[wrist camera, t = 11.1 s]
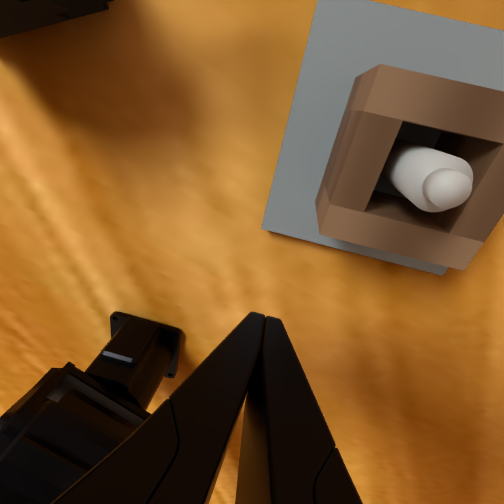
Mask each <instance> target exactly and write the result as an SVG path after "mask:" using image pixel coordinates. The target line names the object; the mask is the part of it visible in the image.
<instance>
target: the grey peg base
mask: <svg viewBox="0 0 504 504" xmlns="http://www.w3.org/2000/svg"><path fill="white" fill-rule="evenodd" d="M379 64H384V65H388V66H393V67H397V68H401V69H406V70H410V71H415V72H419V73H424V74H428V75H433V76H437V77H442V78H446V79H451V80H455V81H460V82H464V83H469V84H473V85H478V86H482V87H486V88H491V89H495V90H500V91H504V31H503V30H499V29H494V28H490V27H485V26H481V25H476V24H472V23H467V22H463V21H458V20H454V19H449V18H445V17H440V16H436V15H432V14H427V13H423V12H418V11H414V10H409V9H405V8H400V7H396V6H391V5H387V4H382V3H378V2H373V1H369V0H318V2H317V6H316V10H315V14H314V18H313V22H312V26H311V30H310V34H309V38H308V42H307V46H306V50H305V54H304V58H303V62H302V66H301V70H300V74H299V78H298V82H297V86H296V90H295V94H294V98H293V102H292V106H291V110H290V115H289V119H288V123H287V127H286V131H285V135H284V139H283V143H282V147H281V151H280V155H279V159H278V163H277V167H276V171H275V175H274V179H273V183H272V187H271V191H270V195H269V199H268V203H267V207H266V211H265V215H264V219H263V223H262V227H261V229H264V230H268V231H272V232H276V233H280V234H284V235H287V236H291V237H295V238H299V239H303V240H307V241H311V242H314V243H318V244H322V245H326V246H330V247H334V248H337V249H341V250H345V251H349V252H353V253H357V254H360V255H364V256H368V257H372V258H376V259H380V260H383V261H387V262H391V263H395V264H399V265H403V266H406V267H410V268H414V269H418V270H422V271H426V272H429V273H433V274H437V275H441V276H443V275H444V274H445V272H446V271H447V269H448V268H449V267H446V266H442V265H438V264H434V263H430V262H426V261H422V260H418V259H415V258H411V257H407V256H403V255H399V254H395V253H391V252H387V251H383V250H379V249H375V248H371V247H367V246H363V245H359V244H355V243H351V242H347V241H343V240H339V239H335V238H331V237H327V236H323V235H320V234H319V228H318V221H317V213H316V206H315V199H316V196H317V193H318V190H319V187H320V184H321V181H322V178H323V175H324V172H325V169H326V166H327V163H328V160H329V157H330V153H331V150H332V147H333V144H334V141H335V138H336V135H337V132H338V129H339V126H340V123H341V120H342V117H343V114H344V111H345V108H346V105H347V101H348V98H349V95H350V92H351V89H352V86H353V83H354V80H355V77H357V76H359V75H361V74H362V73H364V72H366V71H368V70H370V69H372V68H373V67H375V66H377V65H379ZM441 133H442V132H439V131H435V130H430V129H426V128H422V127H417V126H413V125H409V124H404V123H402V124H401V127H400V129H399V131H398V134H397V136H396V138H395V141H394V143H393V145H392V148H391V150H390V152H389V155H388V157H387V159H386V162H385V164H384V166H383V169H382V171H381V174H380V176H379V178H378V181H377V183H376V185H375V188H374V190H375V191H379V192H383V193H387V194H391V195H395V196H399V197H403V198H408V199H409V200H410V201H411V202H412V203H413V204H414V205H416V206H417V207H418V208H420V209H421V210H424V211H427V212H441V211H445V210H448V209H450V208H454V207H457V206H459V205H460V204H462V203H463V202H464V201H466V200H467V198H468V197H469V195H470V194H471V191H472V183H473V172H472V169H471V167H470V165H469V164H468V163H467V162H466V161H465V160H463V159H461V158H459V157H456V156H453V155H450V154H447V153H444V152H441V151H437V150H434V147H435V145H436V143H437V141H438V139H439V137H440V135H441Z"/></svg>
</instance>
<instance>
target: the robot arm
mask: <svg viewBox="0 0 504 504" xmlns="http://www.w3.org/2000/svg"><path fill="white" fill-rule="evenodd" d="M110 325H111V340H110V341H109V342H108V343H107V344H106V346H105V347H104V348H103V349H102V351H101V352H100V354H99V355H98V356H97V357H96V358H95V360H94V361H93V362H92V363H91V365H90V366H89V367H88V368H87V369H86V371H85V372H83V371H81V370H79V369H78V368H76V367H75V365H74V364H73V363H71V362H68V363H67V364H66V365H65V366H64V367H63V368H51V369H50V370H49V371H48V372H47V373H46V374H45V375H44V377H43V378H42V379H41V380H40V381H39V382H38V383H37V384H36V385H35V386H34V387H33V388H32V389H31V390H30V391H28V392H27V393H26V394H25V395H24V396H23V397H22V398H21V399H20V400H18V401H17V402H16V403H15V404H14V405H13V406H12V407H11V408H10V409H8V410H7V411H6V412H5V413H4V414H3V415H2V416H1V417H0V504H209V501H210V498H211V495H212V493H213V490H214V487H215V484H216V481H217V478H218V475H219V472H220V470H221V467H222V464H223V461H224V458H225V455H226V452H227V449H228V447H229V444H230V441H231V438H232V435H233V432H234V429H235V426H236V423H237V421H238V418H239V415H240V412H241V409H242V406H243V403H244V400H245V397H246V401H245V409H244V419H243V430H242V440H241V450H240V460H239V470H238V480H237V490H236V500H235V504H363V503H362V501H361V499H360V496H359V494H358V492H357V490H356V488H355V486H354V484H353V481H352V479H351V477H350V475H349V473H348V471H347V468H346V466H345V464H344V462H343V459H342V457H341V455H340V452H339V450H338V448H335V446H336V444H335V441H334V439H333V437H332V435H331V432H330V430H329V428H328V425H327V423H326V421H325V419H324V416H323V414H322V412H321V409H320V407H319V405H318V403H317V400H316V398H315V396H314V394H313V391H312V389H311V387H310V384H309V382H308V380H307V378H306V375H305V373H304V371H303V368H302V366H301V364H300V362H299V359H298V357H297V355H296V353H295V350H294V348H293V346H292V343H291V341H290V339H289V337H288V334H287V332H286V330H285V328H284V325H283V323H282V321H281V320H280V319H279V318H275V317H271V316H266V317H265V315H264V314H260V313H257V312H250V313H249V314H248V315H247V316H246V317H245V318H244V319H243V320H242V321H241V322H240V323H239V324H238V325H237V326H236V327H235V328H234V329H233V330H232V332H231V333H230V334H229V335H228V336H227V337H226V338H225V339H224V340H223V341H222V342H221V343H220V344H219V345H218V346H217V347H216V348H215V349H214V350H213V351H212V352H211V353H210V354H209V356H208V357H207V358H206V359H205V360H204V361H203V362H202V363H201V364H200V365H199V366H198V367H197V368H196V369H195V370H194V371H193V372H192V373H191V374H190V375H189V376H188V377H187V378H186V379H185V381H184V382H183V383H182V384H181V385H180V386H179V387H178V388H177V389H176V390H175V391H174V392H173V393H172V394H171V395H170V396H169V399H166V400H165V401H164V402H163V403H162V404H161V405H160V406H159V407H158V408H157V409H156V410H155V412H154V413H153V414H150V413H149V412H147V411H146V410H147V408H148V406H149V404H150V402H151V400H152V398H153V396H154V394H155V392H156V390H157V388H158V386H159V384H160V382H161V380H162V378H163V377H164V376H165V377H168V378H174V377H175V375H176V373H177V364H178V356H179V347H180V339H181V331H180V330H179V329H178V328H175V327H171V326H168V325H164V324H160V323H157V322H153V321H150V320H146V319H142V318H139V317H135V316H132V315H128V314H124V313H121V312H117V311H115V312H113V313H112V315H111V316H110ZM246 394H247V395H246Z"/></svg>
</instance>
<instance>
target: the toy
mask: <svg viewBox="0 0 504 504" xmlns="http://www.w3.org/2000/svg"><path fill="white" fill-rule="evenodd" d="M110 1H114V0H0V38H3V37H7V36H10V35H14V34H18V33H21V32H25V31H29V30H33V29H36V28H40V27H44V26H48V25H51V24H55V23H59V22H63V21H66V20H70V19H74V18H77V17H81V16H85V15H89V14H92V13H96V12H100V11H104V10H107V9H109V8H108V4H107V2H110Z"/></svg>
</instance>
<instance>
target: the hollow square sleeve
mask: <svg viewBox="0 0 504 504" xmlns="http://www.w3.org/2000/svg"><path fill="white" fill-rule="evenodd" d="M402 123H404V124H409V125H413V126H417V127H422V128H426V129H430V130H435V131H439V132H442V133H441V135H440V137H439V139H438V141H437V143H436V145H435V147H434V150H437V151H441V152H444V153H447V154H450V155H453V156H456V157H459V158H461V159H463V160H465V161H466V162H467V163H468V164H469V165H470V167H471V169H472V172H473V183H472V191H471V194H470V195H469V197H468V198H467V200H466V201H464V202H463V203H462V204H460V205H459V206H457V207H454V208H450V209H448V210H445V211H441V212H427V211H424V210H421V209H420V208H418V207H417V206H416V205H414V204H413V203H412V202H411V201H410V200H409V199H408V198H403V197H399V196H395V195H391V194H387V193H383V192H379V191H375V190H374V188H375V185H376V183H377V181H378V178H379V176H380V174H381V171H382V169H383V166H384V164H385V162H386V159H387V157H388V155H389V152H390V150H391V148H392V145H393V143H394V141H395V138H396V136H397V134H398V131H399V129H400V127H401V124H402ZM315 206H316V213H317V221H318V228H319V234H320V235H323V236H327V237H331V238H335V239H339V240H343V241H347V242H351V243H355V244H359V245H363V246H367V247H371V248H375V249H379V250H383V251H387V252H391V253H395V254H399V255H403V256H407V257H411V258H415V259H418V260H422V261H426V262H430V263H434V264H438V265H442V266H446V267H450V268H454V269H458V270H462V271H465V269H466V268H467V266H468V265H469V263H470V262H471V260H472V259H473V258H474V256H475V255H476V253H477V252H478V250H479V249H480V247H481V246H482V245H483V243H484V242H485V240H486V239H487V237H488V236H489V234H490V233H491V231H492V230H493V229H494V227H495V226H496V224H497V223H498V221H499V220H500V218H501V217H502V216H503V214H504V91H500V90H495V89H491V88H486V87H482V86H478V85H473V84H469V83H464V82H460V81H455V80H451V79H446V78H442V77H437V76H433V75H428V74H424V73H419V72H415V71H410V70H406V69H401V68H397V67H393V66H388V65H384V64H379V65H377V66H375V67H373V68H372V69H370V70H368V71H366V72H364V73H362V74H361V75H359V76H357V77H355V80H354V83H353V86H352V89H351V92H350V95H349V98H348V101H347V105H346V108H345V111H344V114H343V117H342V120H341V123H340V126H339V129H338V132H337V135H336V138H335V141H334V144H333V147H332V150H331V153H330V157H329V160H328V163H327V166H326V169H325V172H324V175H323V178H322V181H321V184H320V187H319V190H318V193H317V196H316V199H315Z"/></svg>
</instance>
